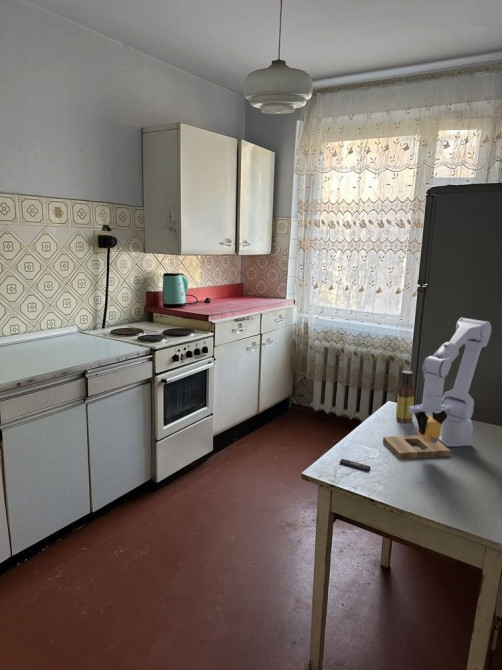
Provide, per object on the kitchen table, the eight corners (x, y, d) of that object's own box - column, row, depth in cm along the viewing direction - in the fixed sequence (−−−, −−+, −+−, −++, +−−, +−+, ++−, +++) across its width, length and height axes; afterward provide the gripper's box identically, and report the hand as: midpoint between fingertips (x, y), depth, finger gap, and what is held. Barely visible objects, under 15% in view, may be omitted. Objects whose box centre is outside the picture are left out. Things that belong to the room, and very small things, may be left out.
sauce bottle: (412, 418, 183) (417, 370, 178) (412, 424, 177) (417, 375, 173) (395, 415, 185) (400, 368, 180) (394, 421, 179) (399, 372, 175)
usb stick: (338, 465, 145) (339, 460, 144) (341, 461, 147) (341, 457, 147) (368, 473, 140) (368, 469, 140) (370, 470, 142) (371, 465, 142)
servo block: (426, 431, 154) (428, 414, 153) (441, 443, 146) (443, 425, 144) (415, 432, 153) (417, 415, 152) (429, 444, 145) (432, 426, 144)
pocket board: (430, 440, 164) (430, 434, 163) (449, 455, 152) (450, 450, 152) (382, 442, 161) (383, 436, 160) (398, 458, 149) (399, 453, 149)
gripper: (418, 398, 141) (413, 439, 144) (461, 397, 144) (455, 437, 147) (407, 391, 148) (402, 430, 151) (447, 389, 151) (443, 428, 154)
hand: (428, 433), depth 149 cm, fingers closed on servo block, 4 cm apart
